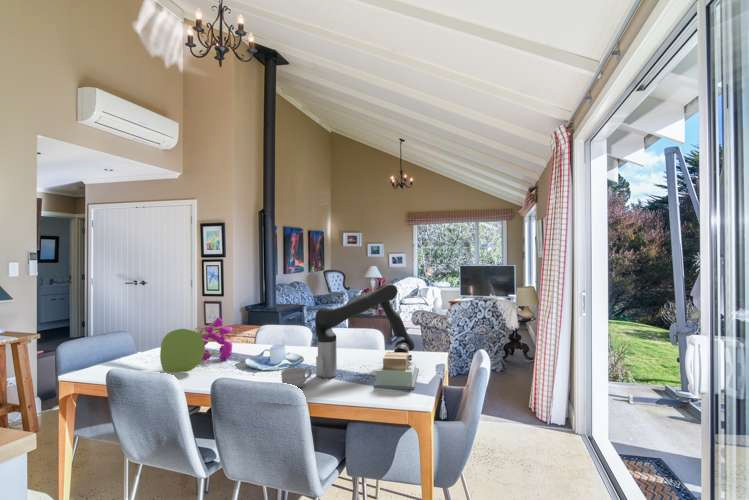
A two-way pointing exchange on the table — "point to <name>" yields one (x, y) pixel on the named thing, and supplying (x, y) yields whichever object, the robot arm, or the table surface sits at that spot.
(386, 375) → the roller track
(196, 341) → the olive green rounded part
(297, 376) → the teacup
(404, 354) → the wood grain cube
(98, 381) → the table surface
